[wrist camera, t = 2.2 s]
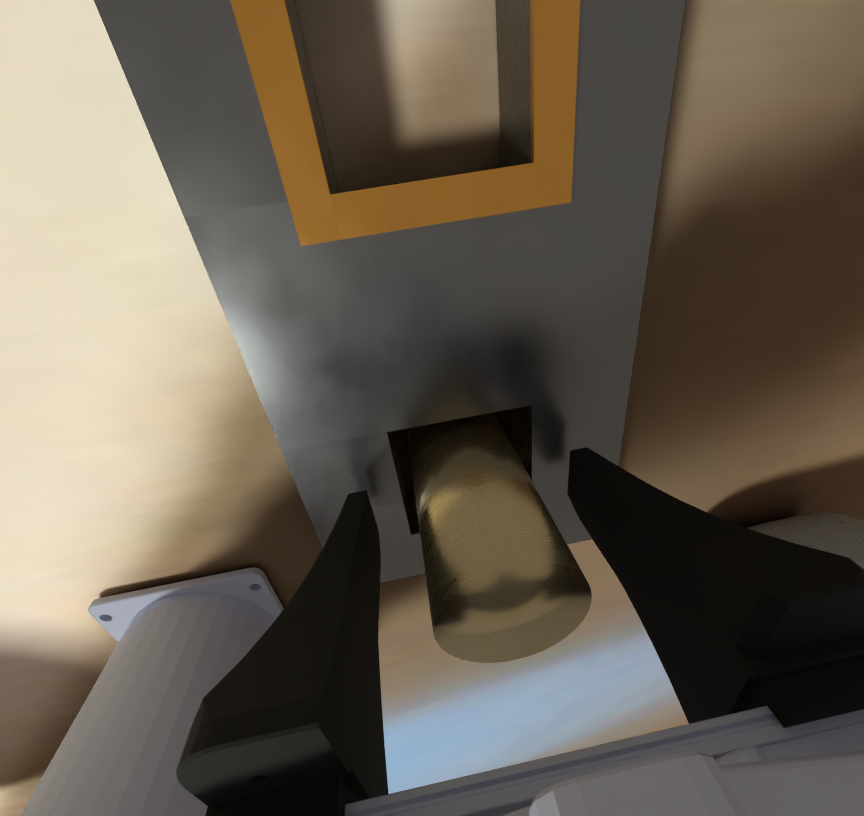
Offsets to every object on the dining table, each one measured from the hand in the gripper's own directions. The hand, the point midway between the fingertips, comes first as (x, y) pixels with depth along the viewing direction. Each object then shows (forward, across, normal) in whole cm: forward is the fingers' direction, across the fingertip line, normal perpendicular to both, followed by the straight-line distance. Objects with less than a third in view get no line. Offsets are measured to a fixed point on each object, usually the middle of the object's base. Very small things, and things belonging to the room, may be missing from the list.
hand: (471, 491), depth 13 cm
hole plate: (+3, 0, -6) cm, 7 cm away
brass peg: (+3, 0, 0) cm, 3 cm away
